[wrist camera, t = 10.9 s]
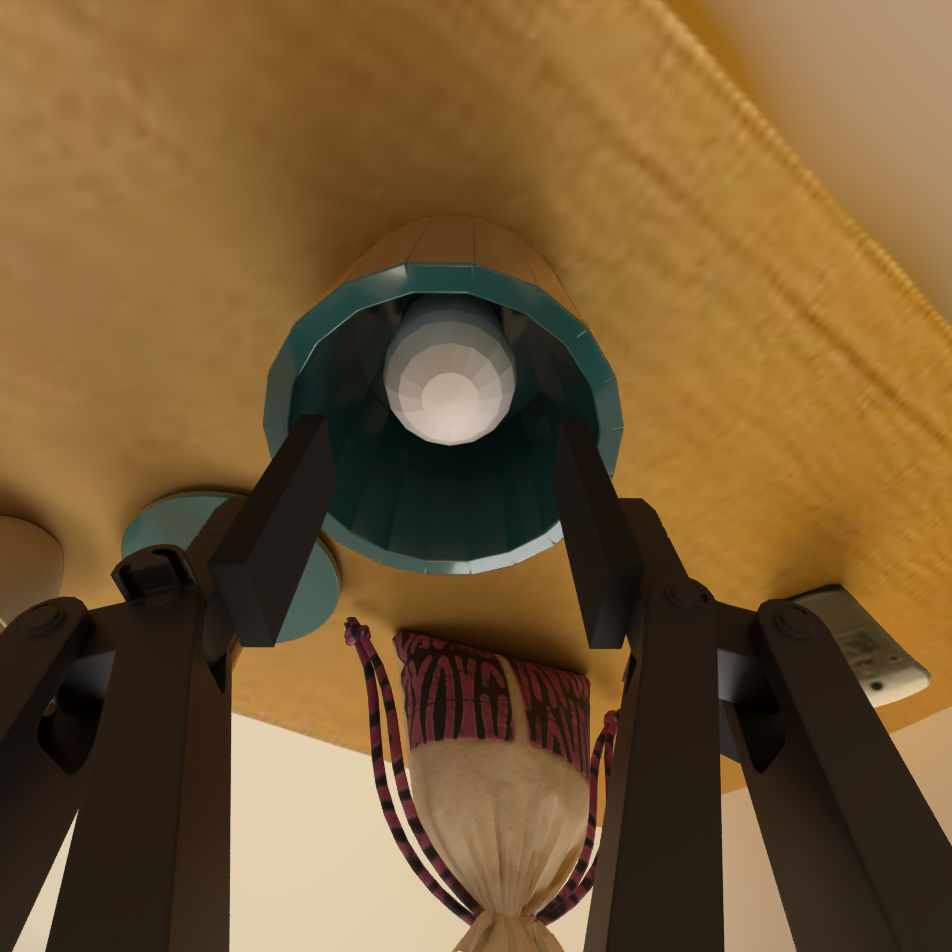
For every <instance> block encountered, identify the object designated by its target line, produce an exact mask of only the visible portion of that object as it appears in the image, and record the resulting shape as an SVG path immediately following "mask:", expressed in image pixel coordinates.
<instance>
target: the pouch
mask: <svg viewBox="0 0 952 952" xmlns="http://www.w3.org/2000/svg"><path fill="white" fill-rule="evenodd" d="M347 620H348V622H346V623H344V625H345V627H346V631H345V636H344V637H345V638H346V641H345V642H346V644H347V645H350V646H351V645H355V647H356V650H357V652H358V655H359V658H360V660H361V663H362V666H363V668H364V673H365V680H366V687H367V693H368V704H369V722H370V738H371V753H372V762H373V769H374V776H375V783H376V788H377V791H378V795H379V799H380V802H381V806H382V809H383V813H384V816H385V818H386V821H387V822H388V825H389V827H390V830H391V832H392V834H393V837H394V839H395V841H396V843H397V845H398V847H399V849H400V850H401V852H402V853H403V855H404V857H405V858H406V860H407V861H408V863H409V864H410V866H411V868H412V869H413V871H414V872H415V873H416V875H417V876H418V877H419V878H420V880H422V882H423V883H424V884H425V886H426V887H427V888H428V889H429V891H431V893H432V894H433V895H434V896H436V898H438V899H439V900H440V901H441V902H442V903H443V904H444V905H445V906H446V907H447V908H448V909H449V910H451V911H452V912H453V913H454V914H456V915H457V916H458V917H459V918H461V919H462V920H463V921H464V922H466V923H467V924H468V925H470V926H471V927H470V929H469V930H468V932H467V933H466V934H465V936H464V937H463V938H462V939H461V941H460V942H459V943H458V944H457V946H456V947H455V948H454V950H453V951H452V952H457V951H459V950H460V951H463V952H564V950H563V949H562V947H561V945H560V944H559V942H558V941H557V939H556V938H555V936H554V935H553V934H552V933H551V932H550V931H549V930H548V929H547V928H546V927H545V926H547V925H549V924H550V923H552V922H554V921H556V920H557V919H559V918H560V917H561V916H563V915H564V914H566V913H567V912H568V911H569V910H571V909H572V908H574V907H575V906H576V905H577V904H578V903H579V902H580V900H581V899H582V898H583V897H584V896H585V895H586V894H587V893H588V891H590V889H591V888H592V886H593V884H594V879H595V872H596V866H597V859H598V853H599V849H598V851H597V854H596V856H595V859H594V861H593V864H592V866H591V868H590V869H589V871H588V872H587V874H586V875H585V877H584V879H583V880H582V882H581V883H580V881H581V878H582V877H583V875H584V873H585V871H586V869H587V867H588V863H589V859H590V856H591V852H592V849H593V845H594V838H595V830H596V821H597V784H598V773H599V763H600V758H601V754H602V750H603V746H604V743H605V753H604V763H605V782H606V800H607V794H608V787H609V781H610V774H611V768H612V761H613V741H614V738H615V735H616V734H617V729H618V722H619V715H620V709H618V710H617V711H614V710H612V711H608V712H607V713H606V714H605V716H604V728H603V730H602V731H601V733H600V735H599V737H598V738H597V740H596V743H595V747H594V750H593V754H592V758H591V764H590V685H591V683H590V681H589V680H588V678H586V677H585V676H583V675H581V674H577V673H573V672H568V671H564V670H560V669H555V668H551V667H547V666H543V665H539V664H535V663H530V662H526V661H522V660H518V659H514V658H510V657H506V656H502V655H498V654H494V653H490V652H486V651H482V650H478V649H474V648H470V647H466V646H463V645H459V644H455V643H451V642H447V641H443V640H439V639H436V638H432V637H428V636H425V635H421V634H417V633H412V632H404V631H403V632H399V633H398V634H397V635H395V637H394V638H393V639H392V643H393V646H394V649H395V654H396V658H397V663H398V669H399V680H400V689H401V697H402V706H403V718H404V726H405V735H406V744H407V753H408V762H409V770H410V778H411V786H412V793H413V800H412V797H411V794H410V790H409V786H408V782H407V777H406V773H405V769H404V763H403V756H402V749H401V742H400V734H399V727H398V719H397V713H396V708H395V703H394V699H393V694H392V689H391V686H390V683H389V680H388V677H387V674H386V671H385V668H384V665H383V663H382V662H381V660H380V658H379V656H378V654H377V652H376V650H375V648H374V647H373V645H372V643H371V641H370V637H371V634H370V631H369V627H368V626H367V625H363V626H362V625H360V624H359V622H358V620H357V619H356V618H355V617H348V618H347ZM371 661H372V663H373V666H374V668H373V666H372V663H371ZM374 669H375V672H376V675H377V678H378V681H379V684H380V687H381V691H382V696H383V701H384V706H385V711H386V717H387V726H388V734H389V743H390V751H391V759H392V767H393V771H394V776H395V781H396V785H397V790H398V794H399V797H400V800H401V803H402V806H403V809H404V811H405V815H406V818H407V820H408V823H409V825H410V827H411V829H412V831H413V833H414V835H415V837H416V839H417V841H418V843H419V845H420V847H421V849H422V851H423V852H424V854H425V855H426V857H427V858H428V860H429V861H430V863H431V864H432V866H433V867H434V868H435V870H436V871H437V873H438V874H439V876H440V877H441V878H442V879H443V881H444V882H445V883H446V884H447V885H448V887H449V888H450V889H451V890H452V891H453V893H454V894H455V895H456V896H457V897H458V898H459V899H460V901H461V902H462V903H463V904H464V905H465V906H466V907H467V908H468V909H469V910H470V911H471V912H472V913H473V914H472V913H471V912H470V911H468V910H467V909H466V908H465V907H463V906H462V905H461V904H460V903H458V902H457V901H456V900H455V899H454V898H453V897H452V896H451V895H450V894H449V893H447V892H446V891H445V890H444V889H443V888H442V887H441V886H440V885H439V884H438V882H437V881H436V880H435V879H434V878H433V876H432V875H431V874H430V873H429V872H428V870H427V869H426V868H425V867H424V866H423V864H422V862H421V861H420V859H419V858H418V856H417V854H416V853H415V851H414V850H413V848H412V846H411V845H410V843H409V842H408V840H407V837H406V835H405V833H404V830H403V828H402V826H401V824H400V821H399V819H398V817H397V815H396V812H395V809H394V805H393V802H392V799H391V795H390V792H389V789H388V785H387V779H386V773H385V766H384V760H383V751H382V739H381V727H380V712H379V698H378V692H377V685H376V679H375V673H374ZM413 801H414V803H413ZM578 858H579V859H578ZM577 859H578V863H577V865H576V866H575V869H574V870H573V872H572V874H571V876H570V878H569V880H568V882H567V883H566V884H565V885H564V887H563V888H562V889H561V890H560V888H561V887H562V885H563V884H564V883H565V881H566V879H567V877H568V876H569V874H570V872H571V871H572V869H573V867H574V865H575V863H576V861H577ZM579 883H580V885H579ZM578 885H579V886H578ZM559 890H560V892H559V893H558V894H557V892H558V891H559ZM556 894H557V895H556ZM555 895H556V897H555ZM554 897H555V898H554ZM553 898H554V899H553ZM552 899H553V900H552Z"/></svg>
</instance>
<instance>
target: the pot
mask: <svg viewBox="0 0 952 952" xmlns="http://www.w3.org/2000/svg"><path fill="white" fill-rule="evenodd" d="M426 293H445V294H471V295H474V296H477V297H479V298H481V299H482V300H484V301H485V302H486V303H488V304H489V305H490V306H491V307H492V309H493V310H494V312H495V314H496V316H497V317H498V319H499V321H500V323H501V324H502V326H503V329H504V331H505V334H506V336H507V339H508V341H509V344H510V346H511V348H512V351H513V353H514V358H515V366H516V374H517V383H516V387H515V390H514V394H513V397H512V401H511V404H510V408H509V411H508V413H507V414H506V415H505V417H504V418H503V419H502V420H501V422H500V423H499V424H498V425H497V427H496V428H495V429H494V430H493V431H491V432H489V433H488V434H486V435H484V436H483V437H481V438H479V439H477V440H476V441H474V442H469V443H463V444H457V445H451V446H449V445H443V444H438V443H433V442H428V441H425V440H424V439H422V438H420V437H419V436H417V435H415V434H414V433H412V432H411V431H409V430H407V429H406V428H405V427H404V426H403V424H402V423H401V422H400V420H399V419H398V418H397V416H396V415H395V414H394V412H393V411H392V410H391V407H390V403H389V399H388V395H387V392H386V388H385V384H384V380H383V373H384V366H385V360H386V353H387V350H388V347H389V345H390V343H391V341H392V338H393V336H394V334H395V332H396V329H397V327H398V325H399V323H400V321H401V319H402V318H403V316H404V314H405V313H406V311H407V310H408V308H409V306H410V305H411V303H413V302H414V301H416V300H417V299H419V298H420V297H422V296H423V295H425V294H426ZM301 414H312V415H325V416H326V422H327V427H328V433H329V438H330V444H331V449H332V455H333V460H334V466H335V471H336V477H337V482H338V486H337V489H336V491H335V494H334V496H333V499H332V501H331V504H330V506H329V509H328V511H327V514H326V517H325V519H324V522H323V524H322V527H321V529H322V530H323V531H325V532H326V533H327V534H328V535H329V536H330V537H332V538H333V539H334V540H335V541H336V542H339V543H340V544H341V545H343V546H345V547H347V548H349V549H351V550H353V551H355V552H357V553H359V554H361V555H363V556H365V557H367V558H369V559H371V560H374V561H376V562H378V563H380V564H382V565H387V566H391V567H395V568H399V569H404V570H408V571H412V572H417V573H421V574H425V573H426V574H466V575H469V574H477V573H481V572H486V571H490V570H495V569H499V568H504V567H508V566H513V565H515V564H518V563H520V562H522V561H524V560H526V559H528V558H530V557H532V556H534V555H536V554H538V553H540V552H542V551H544V550H546V549H548V548H550V547H552V546H554V545H555V543H558V542H559V541H560V540H561V539H562V538H564V536H563V532H562V527H561V523H560V519H559V514H558V510H557V506H556V502H555V497H554V493H553V489H552V484H553V476H554V468H555V460H556V452H557V445H558V437H559V429H560V421H561V417H585V419H586V421H587V424H588V426H589V429H590V431H591V434H592V436H593V439H594V441H595V443H596V446H597V448H598V451H599V453H600V456H601V458H602V460H603V463H604V465H605V468H606V470H607V473H608V475H609V477H610V480H611V479H612V478H613V474H614V472H615V467H616V462H617V457H618V453H619V448H620V443H621V439H622V434H623V426H624V424H623V417H622V411H621V404H620V398H619V391H618V385H617V378H616V377H615V373H614V371H613V370H612V368H611V366H610V364H609V363H608V361H607V359H606V357H605V356H604V354H603V352H602V351H601V349H600V347H599V345H598V344H597V342H596V340H595V338H594V337H593V335H592V333H591V331H590V330H589V328H588V326H587V325H586V323H585V322H584V320H583V318H582V317H581V315H580V314H579V312H578V310H577V309H576V307H575V306H574V304H573V303H572V301H571V299H570V298H569V296H568V295H567V293H566V291H565V290H564V288H563V287H562V285H561V284H560V282H559V280H558V279H557V277H556V276H555V274H554V272H553V271H552V269H551V268H550V266H549V265H548V263H547V261H546V260H545V259H544V258H543V257H542V256H541V255H540V254H539V253H538V252H536V251H535V250H534V249H533V248H532V246H530V245H529V244H528V243H527V242H525V241H524V240H523V239H522V238H520V237H519V236H518V235H517V234H515V233H513V232H512V231H510V230H507V229H506V228H504V227H502V226H499V225H497V224H494V223H492V222H489V221H487V220H483V219H479V218H476V217H470V216H459V215H445V216H433V217H428V218H424V219H420V220H417V221H414V222H411V223H409V224H406V225H403V226H402V227H399V228H397V229H394V230H393V231H390V232H389V233H388V234H387V235H386V236H385V237H383V238H382V239H381V240H380V241H379V242H377V243H376V244H375V245H374V246H373V247H371V248H370V249H369V250H368V251H367V252H366V253H364V254H363V255H362V256H361V257H360V258H359V259H358V260H357V261H356V262H355V263H354V264H353V265H352V266H351V267H350V268H349V269H348V270H347V271H346V272H345V273H344V274H343V275H342V276H341V277H340V278H339V279H338V280H337V281H336V282H335V283H334V284H333V285H332V286H331V287H330V288H329V289H328V290H327V291H326V292H325V293H324V294H323V295H322V296H321V297H320V298H319V299H318V300H317V301H316V302H315V303H314V304H313V305H312V306H311V307H310V308H309V309H308V310H307V311H306V312H305V313H304V314H303V315H302V316H301V317H300V318H299V319H298V320H297V321H296V322H295V324H294V325H293V326H292V328H291V330H290V332H289V334H288V336H287V338H286V340H285V341H284V343H283V345H282V347H281V349H280V351H279V353H278V354H277V356H276V358H275V360H274V362H273V364H272V366H271V368H270V369H269V373H268V377H267V387H266V397H265V406H264V416H263V428H264V431H265V435H266V439H267V443H268V446H269V450H270V454H271V458H272V459H273V458H274V456H275V455H276V453H277V452H278V450H279V448H280V447H281V445H282V444H283V442H284V441H285V439H286V437H287V436H288V434H289V433H290V431H291V430H292V428H293V426H294V425H295V423H296V422H297V420H298V419H299V417H300V415H301Z"/></svg>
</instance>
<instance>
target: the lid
mask: <svg viewBox="0 0 952 952" xmlns="http://www.w3.org/2000/svg"><path fill="white" fill-rule="evenodd" d="M231 496H243V495H239V494H233V493H227V492H218V491H191V492H185V493H179V494H175V495H171V496H168V497H165V498H162V499H160V500H158V501H156V502H154V503H152V504H150V505H149V506H148V507H146V508H145V509H143V510H142V511H141V512H140V513H139V514H138V515H137V516H136V517H135V518H134V519H133V521H132V522H131V523H130V525H129V526H128V528H127V529H126V532H125V534H124V537H123V541H122V548H121V551H122V560H123V559H124V558H125V557H127V556H128V555H130V554H132V553H134V552H136V551H138V550H140V549H143V548H146V547H149V546H152V545H159V544H172V545H177V546H179V547H180V548H182V549H183V550H184V551H185V550H186V549H187V548H188V546H189V545H190V543H191V542H192V541H193V539H194V538H195V536H196V535H198V532H199V531H200V529H201V528H202V526H203V525H204V524H206V521H207V519H208V518H209V517H210V515H211V514H212V512H213V511H214V509H215V508H216V507H218V506H219V505H220V504H222V503H223V502H224V501H226V500H227V499H229V498H230V497H231ZM340 588H341V581H340V573H339V570H338V567H337V564H336V562H335V559H334V557H333V555H332V554H331V552H330V551H329V549H328V548H327V546H326V545H325V544H324V542H323V541H322V540H321V539H320V538H319V537H317V539H316V542H315V544H314V547H313V549H312V552H311V554H310V557H309V560H308V562H307V565H306V567H305V570H304V572H303V575H302V577H301V580H300V582H299V585H298V587H297V590H296V592H295V595H294V597H293V600H292V602H291V605H290V608H289V610H288V613H287V615H286V618H285V620H284V623H283V625H282V628H281V630H280V633H279V635H278V638H277V640H276V643H281V642H286V641H290V640H294V639H297V638H300V637H303V636H305V635H307V634H309V633H311V632H313V631H314V630H316V629H318V628H319V627H320V626H321V625H323V624H324V623H325V622H326V621H327V620H328V618H329V617H330V616H331V615H332V613H333V611H334V609H335V607H336V605H337V602H338V598H339V595H340ZM227 648H228V650H229V652H230V656H231V660H232V672H233V669H234V667H235V665H236V663H237V661H238V658H239V656H240V654H241V652H242V650H243V647H241V645H240V643H239V640H238V638H237V635H236V633H234V635H233V637H232V639H231V641H230V643H229V645H228V647H227Z"/></svg>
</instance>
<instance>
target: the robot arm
mask: <svg viewBox="0 0 952 952" xmlns="http://www.w3.org/2000/svg"><path fill="white" fill-rule="evenodd" d="M337 486H338V482H337V477H336V471H335V466H334V460H333V455H332V449H331V444H330V438H329V433H328V427H327V422H326V416H325V415H312V414H301V415H300V417H299V419H298V420H297V422H296V423H295V425H294V426H293V428H292V430H291V431H290V433H289V434H288V436H287V437H286V439H285V441H284V442H283V444H282V445H281V447H280V448H279V450H278V452H277V453H276V455H275V456H274V458H273V459H272V461H271V463H270V464H269V466H268V467H267V469H266V470H265V472H264V474H263V475H262V477H261V478H260V480H259V481H258V483H257V485H256V486H255V488H254V489H253V491H252V492H251V494H250V496H231V497H230V498H229V499H227V500H226V501H224V502H223V503H222V504H220V505H219V506H218V507H216V508H215V509H214V511H213V512H212V514H211V515H210V517H209V518H208V519H207V521H206V524H204V525H203V526H202V528H201V529H200V531H199V532H198V535H196V536H195V538H194V539H193V541H192V542H191V543H190V545H189V546H188V548H187V549H186V550H185V551H184V550H183V549H182V548H180V547H179V546H177V545H172V544H159V545H152V546H149V547H146V548H143V549H140V550H138V551H136V552H134V553H132V554H130V555H128V556H127V557H125V558H124V559H123V560H122V561H121V562H120V563H118V564H117V565H116V567H115V568H114V570H113V572H112V573H111V576H112V578H113V580H114V581H115V583H116V585H117V587H118V588H119V590H120V592H121V593H122V595H123V597H124V599H125V600H126V602H123V603H119V604H114V605H110V606H106V607H101V608H97V609H92V610H88V609H87V608H86V606H85V605H84V603H83V602H82V601H81V600H79V599H77V598H75V597H58V598H54V599H49V600H46V601H44V602H41V603H39V604H36V605H34V606H32V607H30V608H29V609H27V610H25V611H24V612H22V613H21V614H19V615H18V616H17V617H16V618H15V619H14V620H13V621H12V622H11V623H9V624H8V625H7V627H6V628H5V629H4V630H3V632H2V633H1V634H0V952H12V951H13V948H14V946H15V944H16V942H17V940H18V938H19V936H20V933H21V931H22V929H23V927H24V925H25V923H26V921H27V918H28V916H29V914H30V912H31V910H32V908H33V905H34V903H35V901H36V899H37V897H38V895H39V893H40V890H41V888H42V886H43V884H44V882H45V880H46V878H47V875H48V873H49V871H50V869H51V867H52V865H53V863H54V860H55V858H56V856H57V854H58V852H59V850H60V848H61V845H62V843H63V841H64V839H65V837H66V835H67V833H68V830H69V828H70V826H71V824H72V822H73V820H74V817H75V815H76V813H77V811H78V815H77V819H76V823H75V828H74V832H73V836H72V840H71V845H70V849H69V853H68V857H67V861H66V866H65V870H64V874H63V879H62V883H61V887H60V892H59V896H58V900H57V904H56V909H55V912H54V917H53V921H52V925H51V930H50V934H49V938H48V942H47V946H46V951H45V952H229V928H230V927H229V926H230V925H229V923H230V918H229V917H230V913H229V912H230V808H231V806H230V805H231V802H230V801H231V796H230V795H231V689H232V660H231V656H230V652H229V650H228V648H227V647H228V645H229V643H230V641H231V639H232V637H233V635H234V633H236V635H237V638H238V640H239V643H240V645H241V647H274V645H275V643H276V640H277V638H278V635H279V633H280V630H281V628H282V625H283V623H284V620H285V618H286V615H287V613H288V610H289V608H290V605H291V602H292V600H293V597H294V595H295V592H296V590H297V587H298V585H299V582H300V580H301V577H302V575H303V572H304V570H305V567H306V565H307V562H308V560H309V557H310V554H311V552H312V549H313V547H314V544H315V542H316V539H317V537H318V534H319V532H320V529H321V527H322V524H323V522H324V519H325V517H326V514H327V511H328V509H329V506H330V504H331V501H332V499H333V496H334V494H335V491H336V489H337ZM552 489H553V493H554V497H555V502H556V506H557V510H558V514H559V519H560V523H561V527H562V532H563V536H564V540H565V545H566V549H567V553H568V558H569V562H570V566H571V571H572V575H573V579H574V583H575V588H576V592H577V596H578V601H579V605H580V609H581V614H582V618H583V622H584V627H585V631H586V635H587V640H588V644H589V648H590V649H621V648H622V645H623V642H624V638H625V635H627V638H628V642H629V645H630V648H631V653H630V656H629V659H628V662H627V666H626V669H625V672H624V675H623V678H622V681H623V682H625V683H624V689H623V696H622V702H621V709H620V715H619V722H618V729H617V735H616V742H615V748H614V755H613V761H612V768H611V774H610V781H609V787H608V794H607V800H606V807H605V813H604V820H603V826H602V833H601V839H600V846H599V853H598V859H597V866H596V872H595V879H594V885H593V892H592V899H591V905H590V911H589V918H588V924H587V932H586V937H585V944H584V950H583V952H724V915H723V874H722V873H723V869H722V829H721V828H722V824H721V780H720V735H719V698H720V699H721V700H722V703H723V706H724V710H725V713H726V716H727V720H728V723H729V726H730V730H731V733H732V736H733V740H734V743H735V747H736V750H737V753H738V757H739V760H740V763H741V767H742V770H743V773H744V777H745V780H746V783H747V787H748V790H749V793H750V796H751V800H752V803H753V807H754V810H755V814H756V817H757V820H758V824H759V827H760V830H761V834H762V837H763V840H764V844H765V847H766V850H767V854H768V857H769V860H770V864H771V867H772V870H773V873H774V877H775V880H776V884H777V887H778V890H779V894H780V897H781V901H782V904H783V907H784V911H785V914H786V917H787V921H788V924H789V927H790V930H791V934H792V937H793V941H794V944H795V947H796V951H797V952H952V846H951V844H950V842H949V841H948V839H947V837H946V835H945V834H944V832H943V830H942V829H941V827H940V825H939V823H938V821H937V819H936V818H935V816H934V814H933V812H932V811H931V809H930V807H929V805H928V804H927V802H926V800H925V798H924V797H923V795H922V793H921V791H920V789H919V788H918V786H917V784H916V782H915V780H914V779H913V777H912V775H911V774H910V772H909V770H908V768H907V766H906V765H905V763H904V761H903V759H902V758H901V756H900V754H899V752H898V750H897V749H896V747H895V745H894V743H893V742H892V740H891V738H890V736H889V734H888V733H887V731H886V729H885V727H884V726H883V724H882V722H881V720H880V719H879V717H878V715H877V713H876V711H875V710H874V708H873V706H872V704H871V703H870V701H869V699H868V697H867V695H866V694H865V692H864V690H863V688H862V687H861V685H860V683H859V681H858V680H857V678H856V676H855V674H854V672H853V671H852V669H851V667H850V665H849V664H848V662H847V660H846V658H845V657H844V655H843V653H842V651H841V649H840V648H839V646H838V644H837V642H836V641H835V639H834V637H833V635H832V634H831V632H830V630H829V628H828V627H827V626H826V624H825V623H824V622H823V621H822V619H821V618H820V617H818V616H817V615H816V614H814V613H813V612H812V611H810V610H809V609H808V608H805V607H803V606H801V605H799V604H797V603H795V602H791V601H787V600H783V599H772V600H768V601H765V602H763V603H761V605H760V607H759V609H758V611H757V612H755V611H751V610H747V609H743V608H739V607H735V606H731V605H727V604H724V603H721V602H718V601H716V600H715V599H714V596H713V595H712V594H711V593H710V591H709V590H708V589H707V588H706V587H705V586H703V585H702V584H701V583H699V582H698V581H696V580H694V579H691V578H689V577H688V575H687V573H686V571H685V569H684V567H683V565H682V563H681V561H680V559H679V557H678V555H677V553H676V551H675V549H674V547H673V545H672V543H671V541H670V539H669V538H668V537H667V533H666V531H665V529H664V527H663V526H662V523H661V521H660V519H659V517H658V515H657V513H656V511H655V510H654V509H653V508H652V507H651V506H650V505H649V504H648V503H647V502H645V501H644V500H643V499H642V498H618V497H617V494H616V492H615V490H614V487H613V485H612V482H611V480H610V477H609V475H608V473H607V470H606V468H605V465H604V463H603V460H602V458H601V456H600V453H599V451H598V448H597V446H596V443H595V441H594V439H593V436H592V434H591V431H590V429H589V426H588V424H587V421H586V419H585V417H561V421H560V429H559V437H558V445H557V452H556V460H555V468H554V476H553V484H552ZM50 702H51V703H50ZM47 707H48V708H47ZM78 809H79V810H78Z"/></svg>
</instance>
